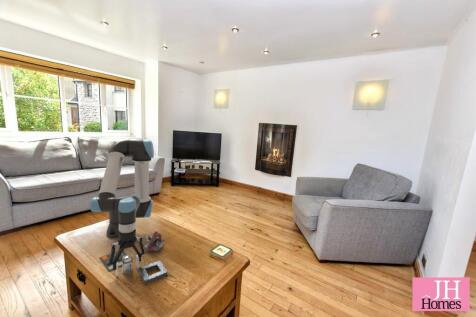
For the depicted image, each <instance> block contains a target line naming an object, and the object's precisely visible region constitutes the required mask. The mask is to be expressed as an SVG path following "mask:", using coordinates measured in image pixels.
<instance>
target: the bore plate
mask: <svg viewBox="0 0 476 317" xmlns="http://www.w3.org/2000/svg"><path fill="white" fill-rule="evenodd" d="M155 269H157V271H158V272H155V273H152V274H150V275H149V274H148V271H152V270H155ZM137 271H138V274H139V276H140V277H141V280H142V282H143V284H144V285H147V284H150V283H152V282H155V281H157V280H160V279H162V278H164V277H167V276H168V270H167V268H166V267H165V265H164V264H163V263H162V261H161V260H157V261H154V262H151V263H148V264H145V265H142V266H139V268H138V269H137Z"/></svg>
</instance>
